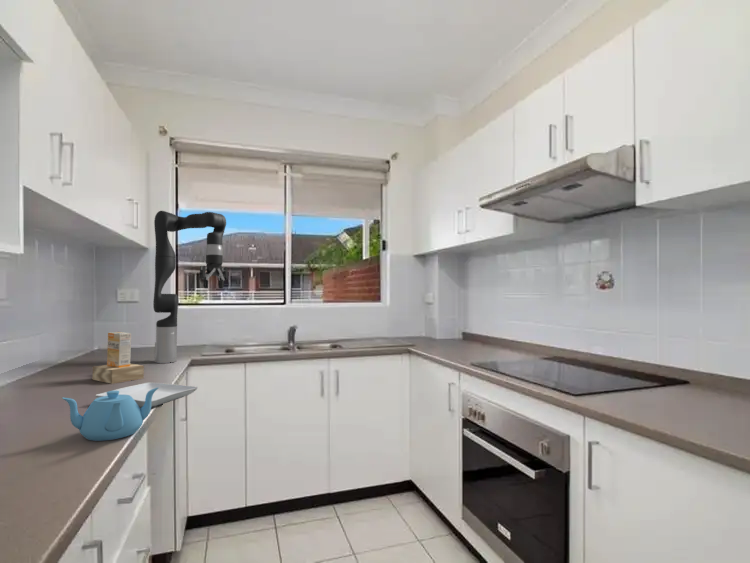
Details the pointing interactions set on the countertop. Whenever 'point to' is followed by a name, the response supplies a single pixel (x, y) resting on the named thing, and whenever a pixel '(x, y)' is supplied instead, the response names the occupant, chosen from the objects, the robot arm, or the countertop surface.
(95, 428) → the teapot
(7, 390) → the countertop surface
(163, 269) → the robot arm
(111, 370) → the plate
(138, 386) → the salad plate
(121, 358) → the supplement box
